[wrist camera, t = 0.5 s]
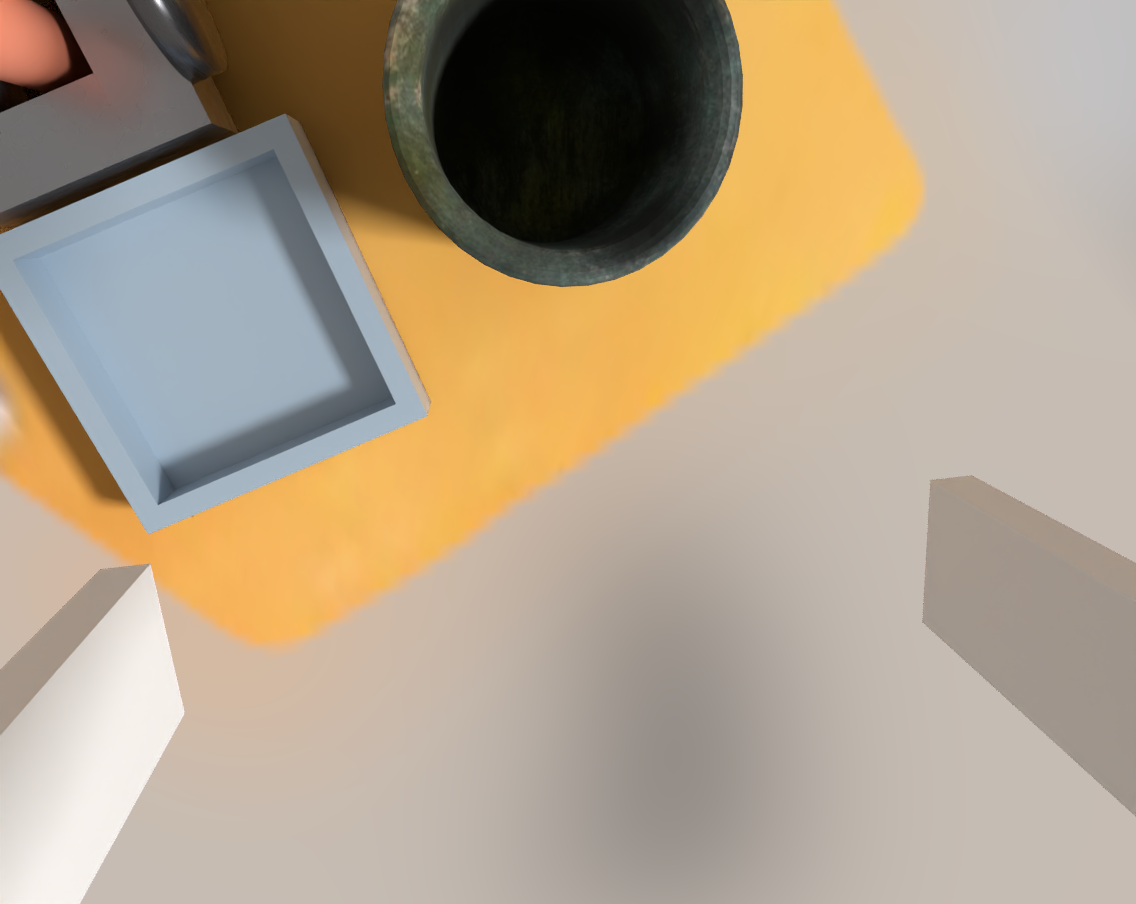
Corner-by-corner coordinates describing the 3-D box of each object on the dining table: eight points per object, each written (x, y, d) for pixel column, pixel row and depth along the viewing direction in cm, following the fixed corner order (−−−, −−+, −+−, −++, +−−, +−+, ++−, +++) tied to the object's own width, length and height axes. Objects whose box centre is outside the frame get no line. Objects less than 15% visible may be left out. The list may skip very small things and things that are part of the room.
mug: (433, 282, 38) (417, 309, 26) (372, -86, 34) (322, -244, 22) (671, 250, 39) (756, 263, 27) (639, -114, 35) (723, -280, 23)
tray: (13, 243, 35) (-27, 245, 33) (300, 121, 35) (284, 113, 33) (171, 511, 39) (148, 534, 36) (430, 401, 39) (427, 415, 36)
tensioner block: (-128, -23, 32) (-298, -92, 25) (151, -141, 32) (60, -244, 25) (18, 227, 35) (-97, 229, 28) (274, 118, 35) (224, 92, 28)
